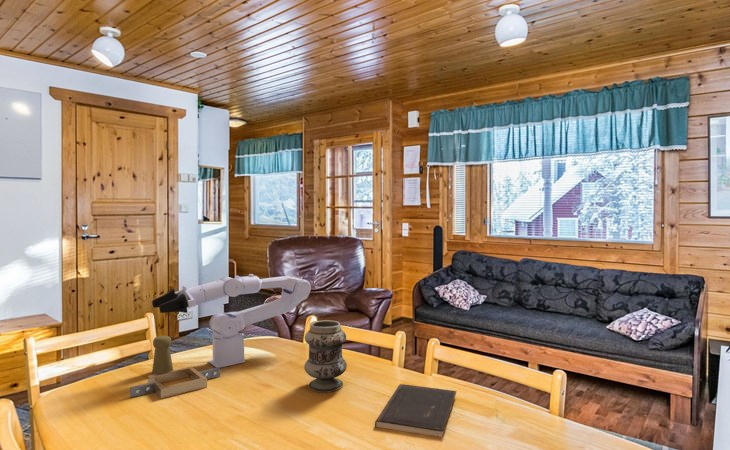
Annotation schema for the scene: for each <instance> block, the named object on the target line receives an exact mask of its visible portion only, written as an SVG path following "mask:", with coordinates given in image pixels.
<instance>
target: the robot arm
mask: <svg viewBox="0 0 730 450" xmlns="http://www.w3.org/2000/svg"><path fill="white" fill-rule="evenodd" d="M181 287H182V289H181V290H178V291H175V289H174V288H171V289H169V290H168V291H167V292H166V293H164V294H162V295H161V296H159V297H157V298H155V299H152V301H151V304H152V307H153V308H159V313H160V314H164V313H165V314H166V313H183V314H186V313H188V309H191V308H193V307H196V306H199V305H201V304H205V303H208V302H212V301H215V300H219V299H222V298H225V297H232V298H233V297H234V298H235V297H237V296H239V295H246V294H247V295H248V294H255V293H256V294H257V293H259V291H260V290H261V289H278V288H281V295H280V298H279V299H276V300H273V301H269V302H266V303H263V304H260V305H256V306H252V307H249V308H246V309H243V310H239V311H228V312H216V313H214V314H213V315H212V316H211V318H210V320H209V326H210V329H211V330H212V331H213V332H212V335H211V336H212V358H211V359H209V360H208V363H210V365H212V366H213V367H214V368H217V367H219V368H220V369H221V368H225V367H228V366H233V365H238V364H242V363H245V362H246V360H245V341H244V340H245V339H244V336H243V335H242V334H241V333H239V332H241V331H244V328H245V327H246V326H250V325H252V324H256V323H259V322H262V321H265V320H269V319H271V318H274V317H277V316H280V315H283V314H287V313H289V312H291V311H293V310H295V308H296V307H297V306H298V305H299V304H300V303H302V301H305V300H306V299H308V298H309V295H310V293H311V289H312V286H311V283H310V281H309V280H307V279H302V278H298V277H296V276H288V275H287V276H286V275H282V276H274V277H266V278H260V277H259V276H257V275H255V274H253V273H249V274H248V275H247V276H239V275H234V278H233V277H229V276H222V277H221V278H220V279H219V280H215V281H211V282H207V283H203V284H199V285H196V286H193V287H187V285H182V286H181Z"/></svg>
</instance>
